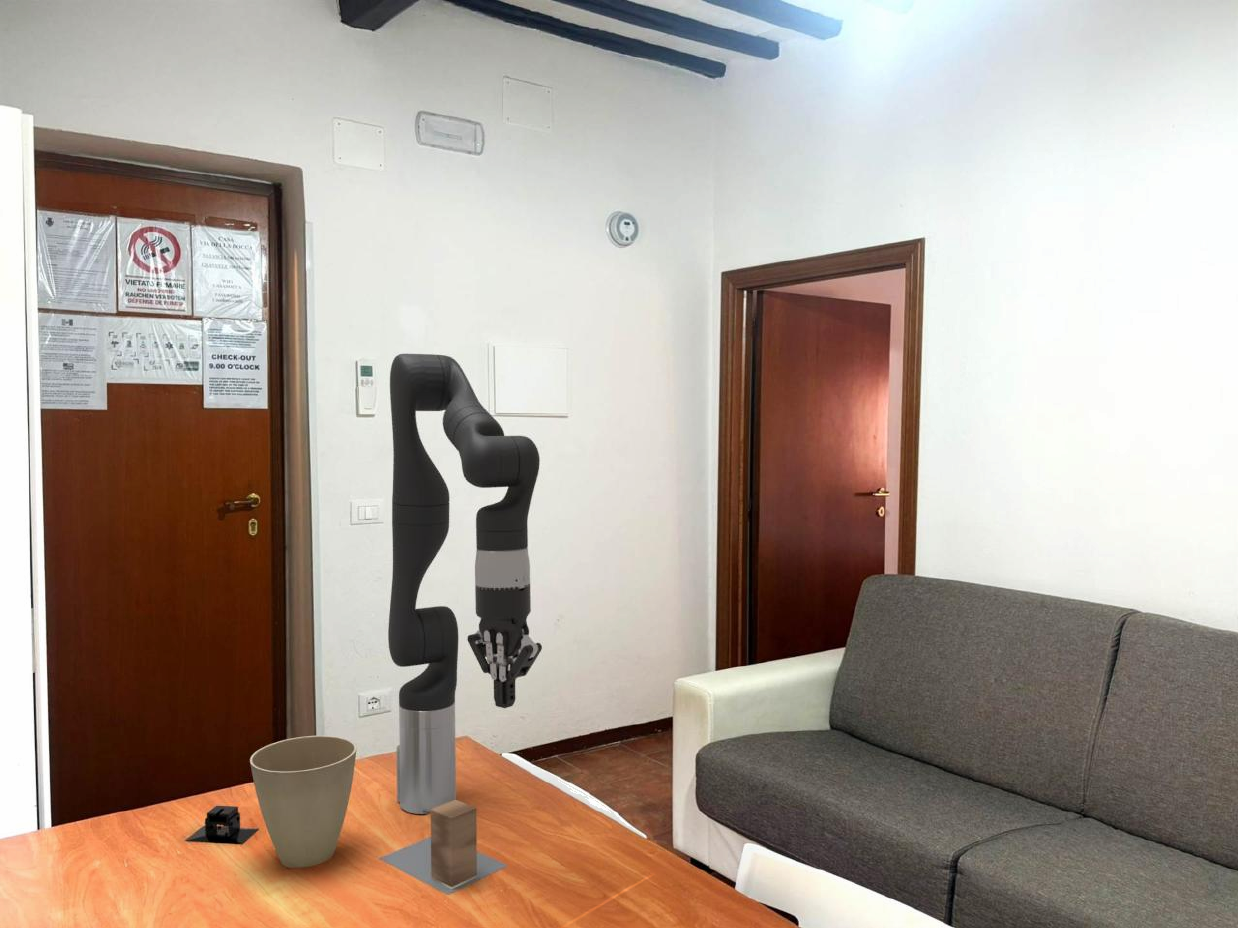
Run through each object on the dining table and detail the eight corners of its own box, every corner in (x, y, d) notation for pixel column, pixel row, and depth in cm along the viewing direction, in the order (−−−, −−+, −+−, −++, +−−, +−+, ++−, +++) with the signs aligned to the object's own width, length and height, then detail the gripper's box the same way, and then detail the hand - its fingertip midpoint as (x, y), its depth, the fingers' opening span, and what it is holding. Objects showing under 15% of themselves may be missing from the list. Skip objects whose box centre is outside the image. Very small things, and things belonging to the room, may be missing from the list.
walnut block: (431, 878, 134) (430, 809, 133) (456, 867, 137) (455, 799, 137) (451, 889, 131) (451, 818, 130) (476, 877, 134) (476, 807, 134)
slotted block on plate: (172, 846, 146) (171, 816, 146) (199, 825, 153) (198, 797, 153) (249, 850, 144) (248, 821, 144) (272, 829, 152) (271, 801, 151)
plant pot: (328, 826, 152) (326, 728, 151) (376, 857, 141) (375, 752, 140) (235, 857, 141) (232, 751, 140) (279, 893, 131) (277, 779, 130)
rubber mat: (378, 860, 140) (378, 858, 140) (438, 835, 148) (438, 833, 148) (448, 897, 130) (448, 894, 130) (508, 868, 138) (508, 865, 138)
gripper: (450, 580, 132) (452, 704, 133) (516, 589, 123) (518, 721, 124) (490, 573, 138) (492, 692, 138) (556, 582, 129) (558, 708, 130)
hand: (504, 706), depth 131 cm, fingers closed
